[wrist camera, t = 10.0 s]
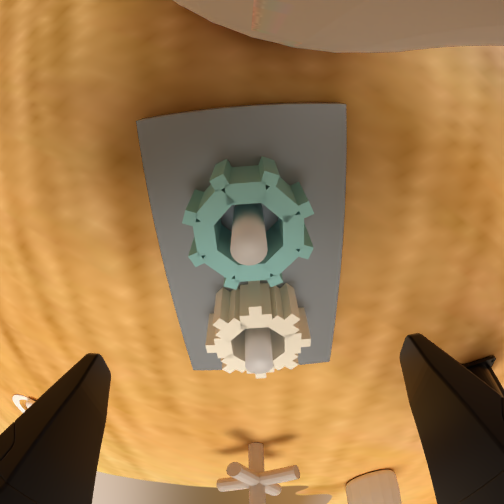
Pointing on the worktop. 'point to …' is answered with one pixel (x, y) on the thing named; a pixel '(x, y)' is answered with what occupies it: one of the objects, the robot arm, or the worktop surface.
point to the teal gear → (247, 192)
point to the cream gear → (257, 324)
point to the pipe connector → (256, 476)
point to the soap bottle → (374, 488)
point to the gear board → (244, 146)
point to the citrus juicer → (360, 22)
